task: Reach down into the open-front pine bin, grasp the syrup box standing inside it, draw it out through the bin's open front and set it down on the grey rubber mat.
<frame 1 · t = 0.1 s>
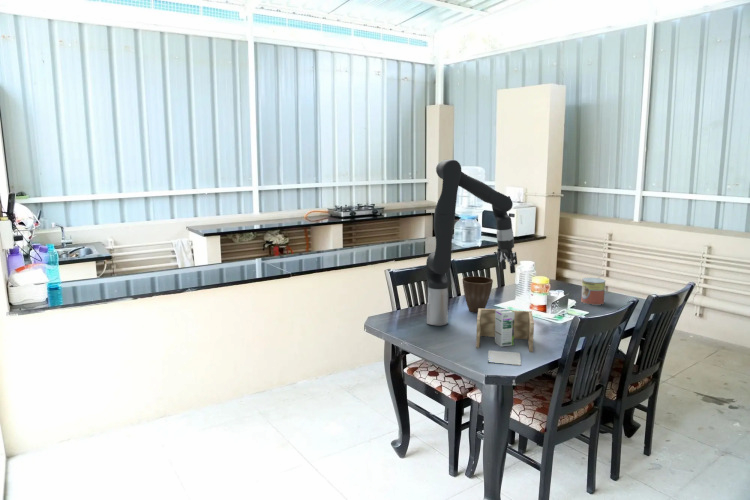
hand: (508, 271, 250), 22 cm above the table, tool pointing down, fingers open, 8 cm apart
grey mat: (504, 358, 201), on the table
syrup box: (503, 344, 216), on the table
plant pot: (476, 310, 263), on the table
canned food: (592, 302, 277), on the table
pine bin: (503, 343, 217), on the table
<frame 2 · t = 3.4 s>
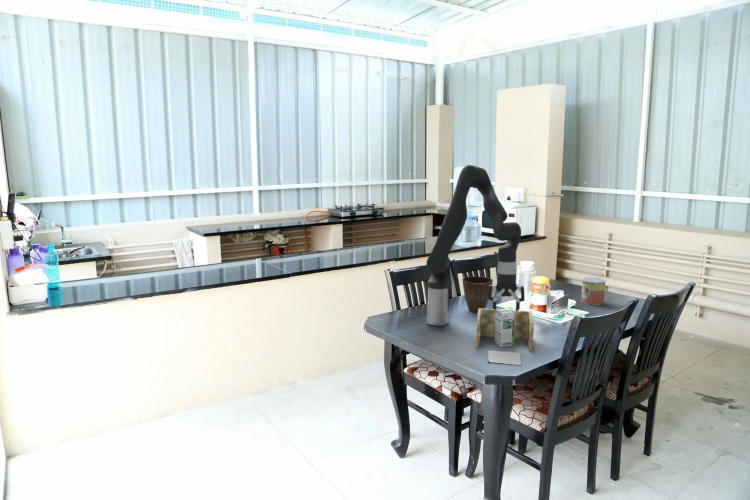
hand: (505, 310, 214), 14 cm above the table, tool pointing down, fingers open, 8 cm apart
syrup box: (503, 344, 216), on the table, touching gripper
everything else where it was.
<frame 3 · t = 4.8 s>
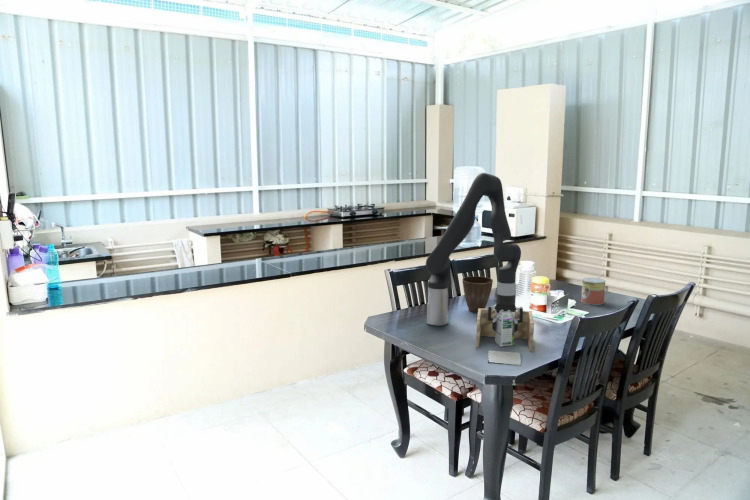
hand: (504, 331, 215), 6 cm above the table, tool pointing down, fingers closed on syrup box, 7 cm apart
syrup box: (504, 344, 216), on the table, touching gripper
everything else where it was.
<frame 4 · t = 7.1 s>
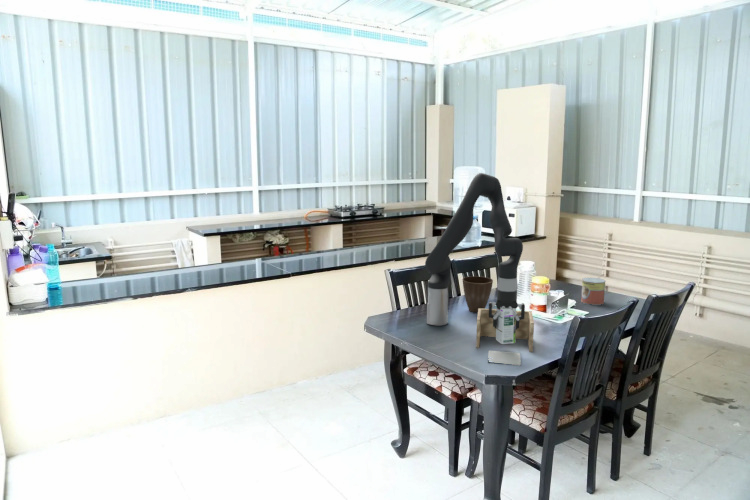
hand: (505, 328, 208), 9 cm above the table, tool pointing down, fingers closed on syrup box, 7 cm apart
syrup box: (505, 342, 209), point 3 cm above the table, touching gripper
everything else where it was.
when the fingers open (7 cm above the table, at t = 9.5 s): syrup box stays where it is, resting on grey mat.
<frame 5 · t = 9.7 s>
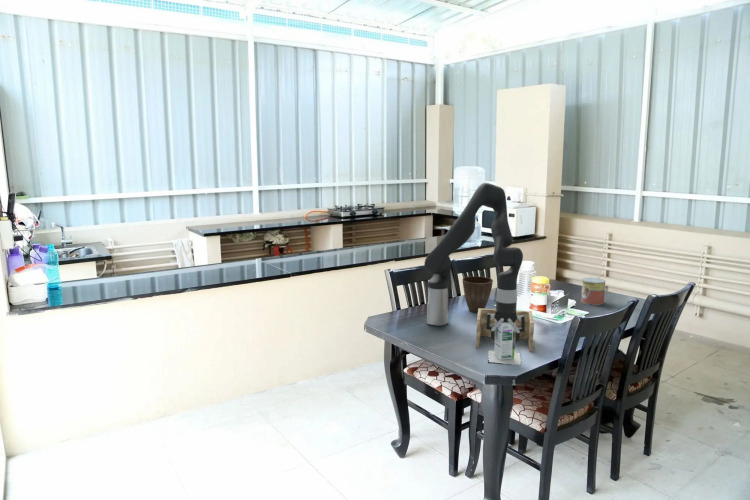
hand: (504, 340, 200), 7 cm above the table, tool pointing down, fingers open, 8 cm apart
syrup box: (503, 357, 201), resting on grey mat
everything else where it was.
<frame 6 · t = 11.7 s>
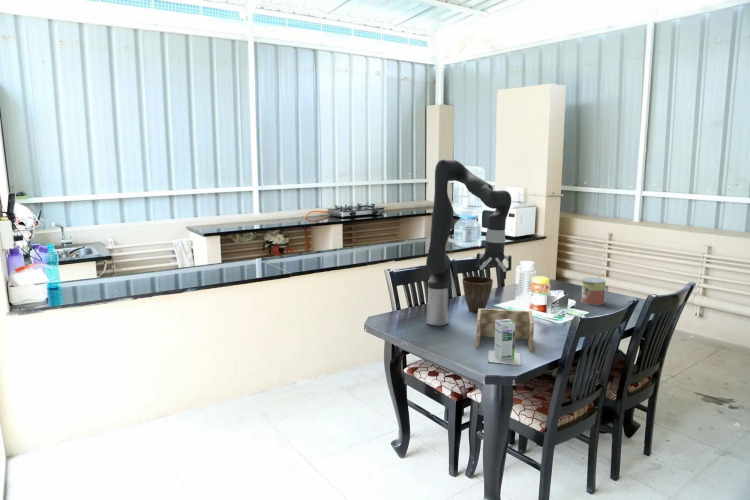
hand: (492, 279, 213), 27 cm above the table, tool pointing down, fingers open, 8 cm apart
nothing on the table moved.
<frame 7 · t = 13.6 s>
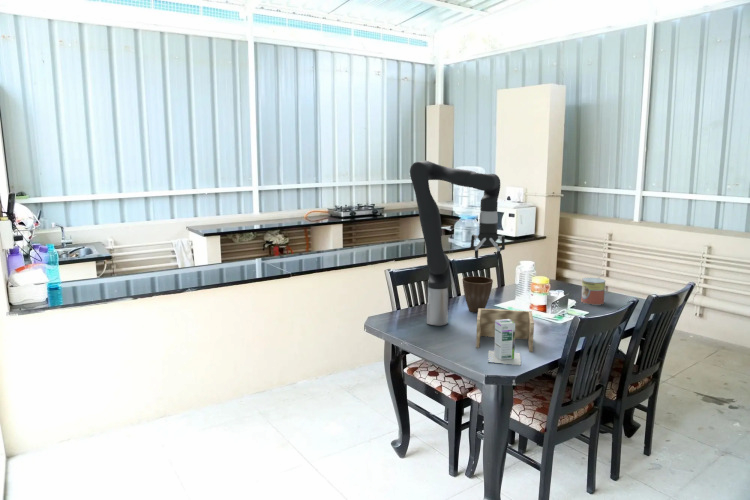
hand: (487, 259, 224), 33 cm above the table, tool pointing down, fingers open, 8 cm apart
nothing on the table moved.
at the end: syrup box inside the target area (0.3 cm from its centre), resting on grey mat; syrup box tilted 0°; the gripper is holding nothing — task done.
